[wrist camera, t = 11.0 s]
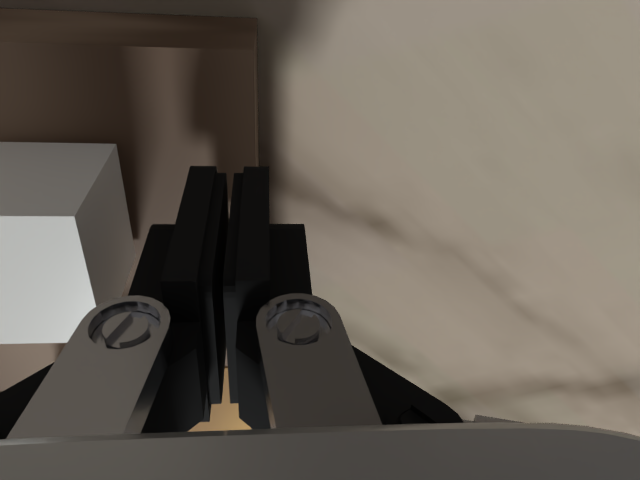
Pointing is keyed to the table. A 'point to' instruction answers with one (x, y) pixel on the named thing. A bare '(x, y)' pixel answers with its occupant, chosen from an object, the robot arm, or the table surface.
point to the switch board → (132, 117)
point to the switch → (59, 237)
